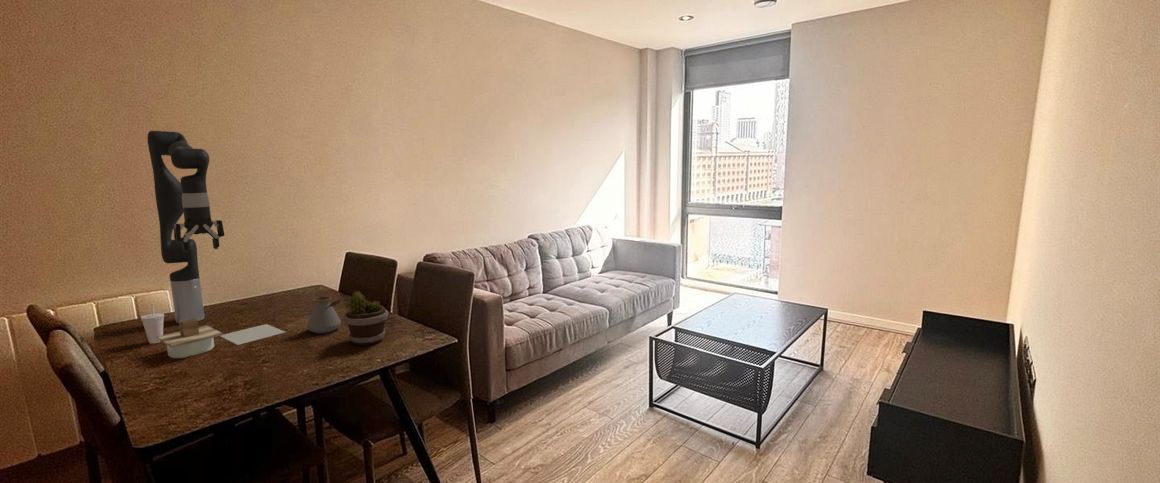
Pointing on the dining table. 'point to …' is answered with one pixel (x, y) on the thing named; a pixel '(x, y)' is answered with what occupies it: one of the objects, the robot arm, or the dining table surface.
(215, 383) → the dining table surface
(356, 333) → the flowerpot
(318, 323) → the coffee pot
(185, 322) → the lid
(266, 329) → the tray
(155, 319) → the smoothie
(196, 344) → the bowl
